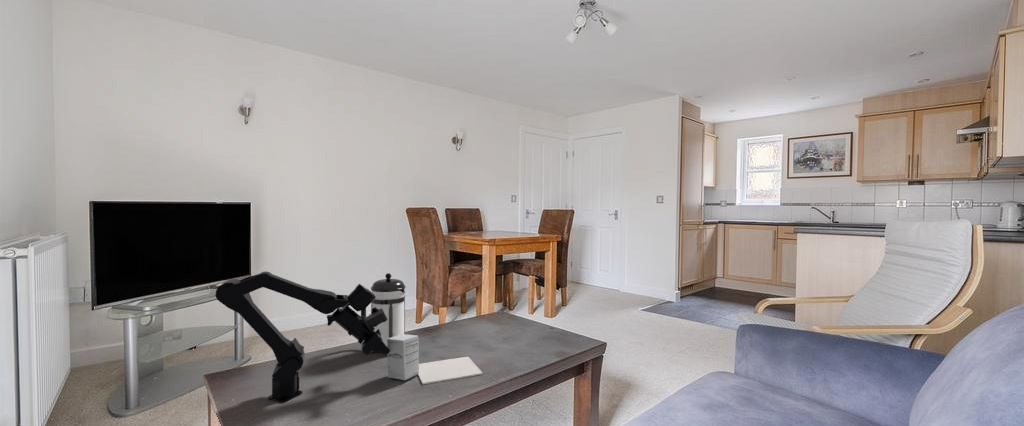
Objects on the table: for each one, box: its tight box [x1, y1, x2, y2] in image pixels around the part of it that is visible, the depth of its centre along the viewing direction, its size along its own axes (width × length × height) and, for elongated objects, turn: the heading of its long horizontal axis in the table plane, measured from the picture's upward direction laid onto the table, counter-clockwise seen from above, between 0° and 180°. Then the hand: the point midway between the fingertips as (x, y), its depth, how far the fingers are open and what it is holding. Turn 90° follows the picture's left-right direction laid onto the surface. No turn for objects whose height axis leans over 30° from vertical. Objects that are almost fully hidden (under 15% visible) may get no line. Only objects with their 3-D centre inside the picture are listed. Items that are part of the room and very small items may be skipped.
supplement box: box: [387, 333, 420, 381], centre depth 132 cm, size 7×7×13 cm
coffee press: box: [360, 272, 407, 354], centre depth 156 cm, size 17×16×30 cm
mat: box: [417, 356, 484, 385], centre depth 138 cm, size 20×16×1 cm
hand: (389, 352), depth 130 cm, fingers closed
